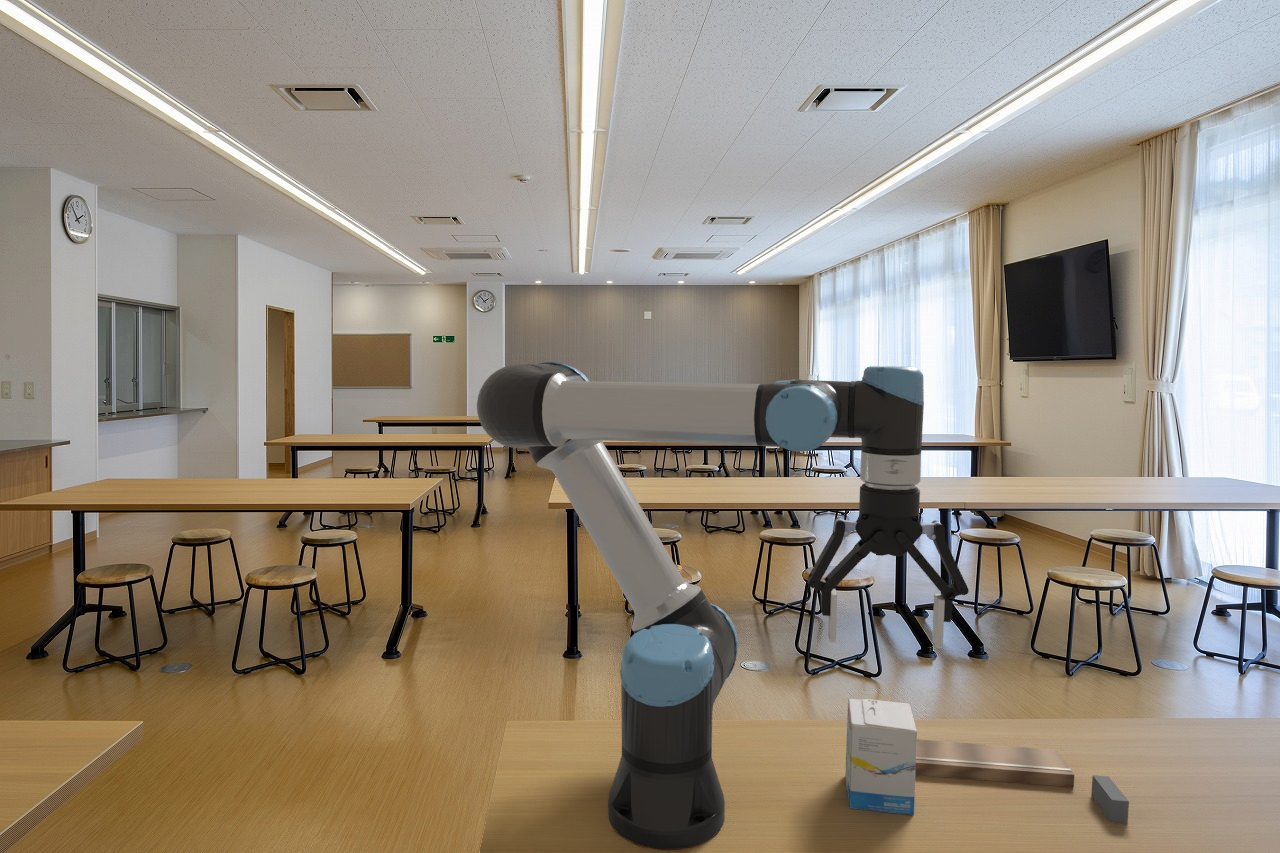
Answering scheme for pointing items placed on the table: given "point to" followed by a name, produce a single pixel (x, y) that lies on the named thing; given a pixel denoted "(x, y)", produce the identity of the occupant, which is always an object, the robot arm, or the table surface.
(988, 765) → the board
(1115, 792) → the block
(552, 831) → the table surface
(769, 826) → the table surface
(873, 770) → the ink box
